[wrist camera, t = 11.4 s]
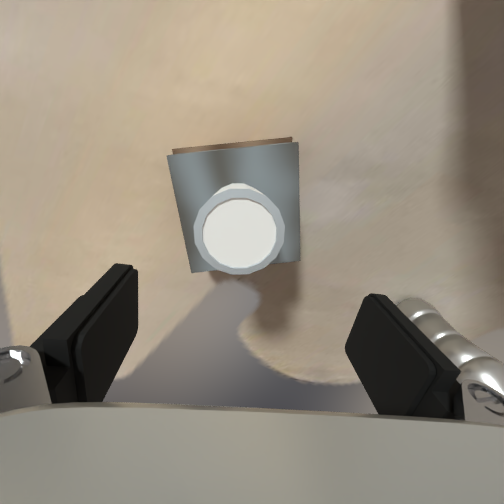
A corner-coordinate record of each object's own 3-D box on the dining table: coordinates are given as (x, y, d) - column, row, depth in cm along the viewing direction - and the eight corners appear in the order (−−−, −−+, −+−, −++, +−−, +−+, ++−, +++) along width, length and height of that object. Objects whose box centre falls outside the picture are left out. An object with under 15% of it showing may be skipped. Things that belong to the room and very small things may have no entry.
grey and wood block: (283, 138, 32) (303, 135, 23) (287, 234, 37) (304, 264, 28) (180, 148, 32) (159, 150, 23) (199, 244, 37) (187, 277, 28)
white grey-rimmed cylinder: (247, 255, 27) (251, 289, 21) (190, 221, 25) (175, 247, 19) (286, 202, 25) (304, 222, 19) (227, 161, 23) (225, 167, 17)
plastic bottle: (399, 289, 42) (526, 400, 24) (432, 298, 44) (577, 410, 25) (381, 319, 45) (483, 441, 26) (412, 327, 46) (531, 449, 28)
